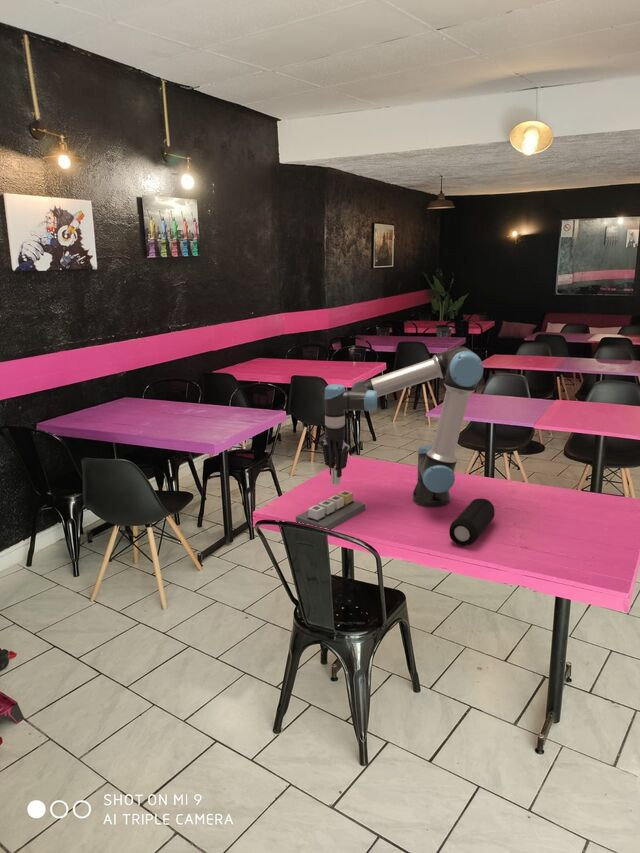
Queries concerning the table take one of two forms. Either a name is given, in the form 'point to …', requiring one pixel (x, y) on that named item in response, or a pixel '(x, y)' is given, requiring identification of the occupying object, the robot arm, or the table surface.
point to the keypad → (333, 515)
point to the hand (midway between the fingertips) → (335, 483)
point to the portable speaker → (471, 522)
